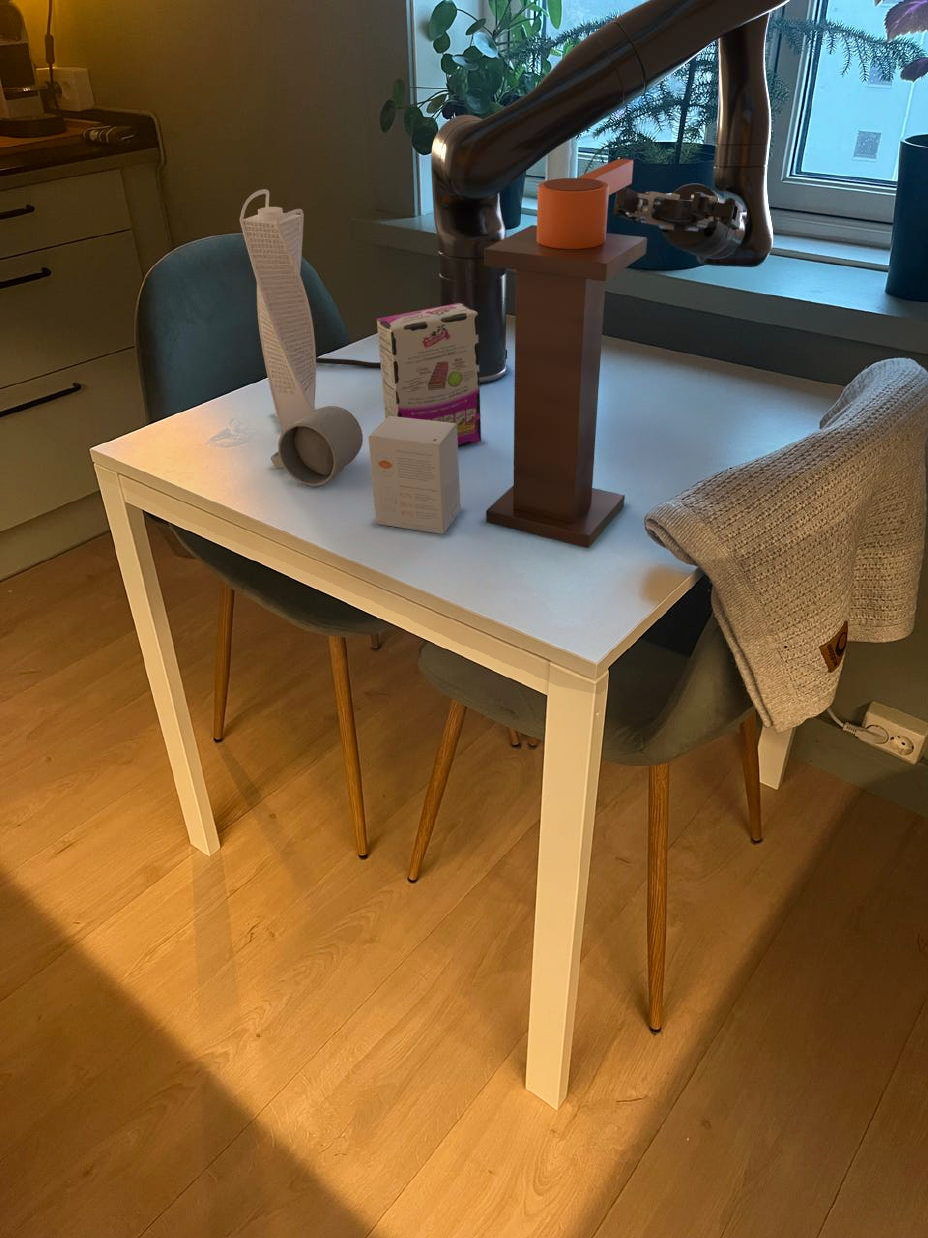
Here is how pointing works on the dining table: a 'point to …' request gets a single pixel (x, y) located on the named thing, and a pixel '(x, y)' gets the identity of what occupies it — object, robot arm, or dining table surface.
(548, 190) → the orange measuring cup
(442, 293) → the robot arm
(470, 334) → the candy bar box
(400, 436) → the small box
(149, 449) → the dining table surface
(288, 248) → the skyscraper
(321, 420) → the ceramic mug
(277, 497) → the dining table surface
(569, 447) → the tall walnut stand
